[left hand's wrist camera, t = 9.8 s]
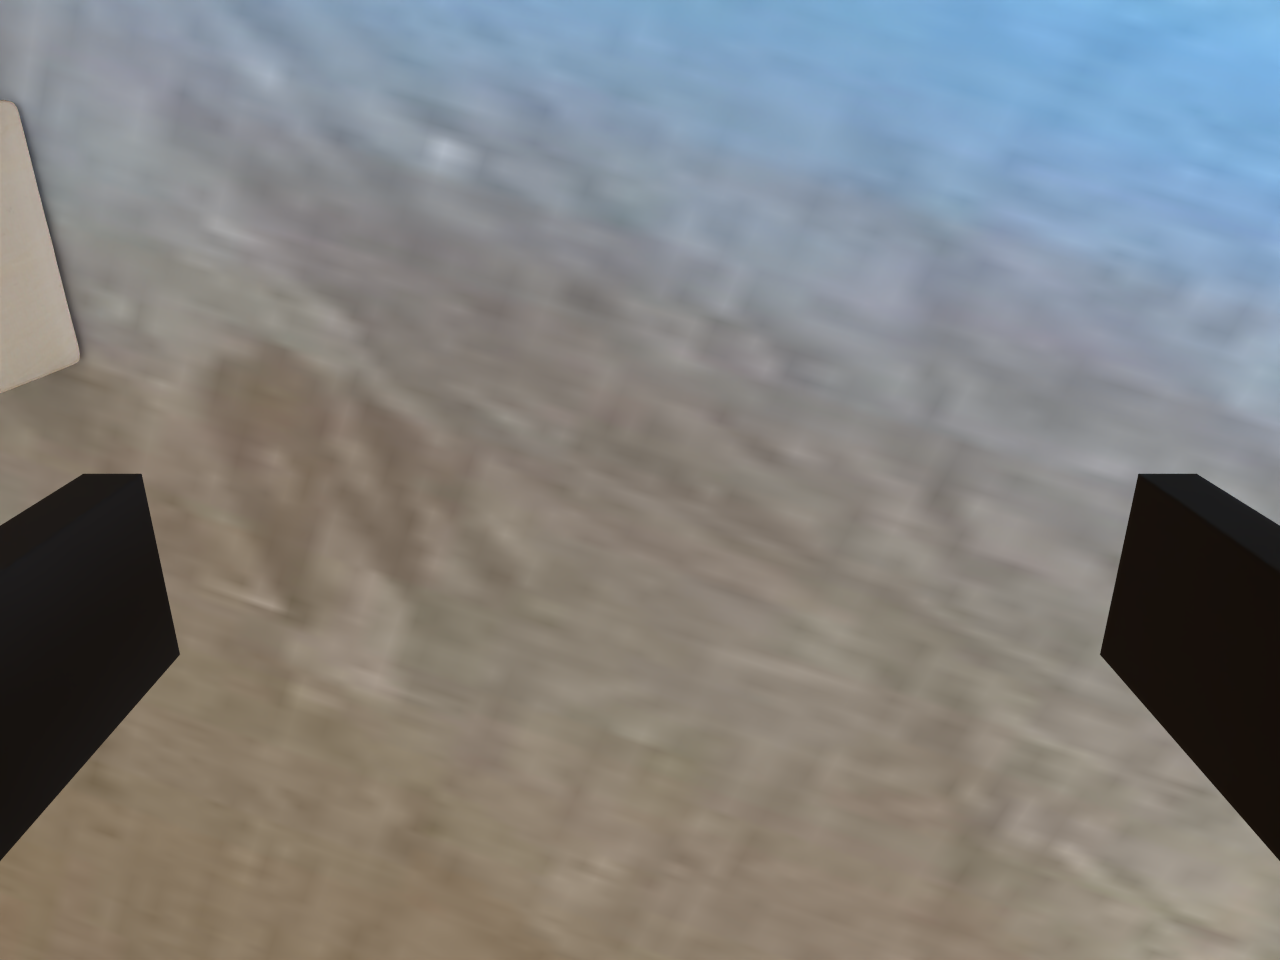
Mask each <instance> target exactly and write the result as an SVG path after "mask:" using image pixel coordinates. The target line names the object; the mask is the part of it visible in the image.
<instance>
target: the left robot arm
mask: <svg viewBox="0 0 1280 960" xmlns="http://www.w3.org/2000/svg"><path fill="white" fill-rule="evenodd" d="M179 655H180V653H179V648H178V643H177V639H176V634H175V629H174V625H173V620H172V615H171V610H170V606H169V601H168V596H167V592H166V587H165V582H164V577H163V573H162V568H161V563H160V559H159V554H158V549H157V544H156V540H155V535H154V530H153V526H152V521H151V516H150V512H149V507H148V502H147V497H146V493H145V488H144V483H143V479H142V474H82V475H81V476H79V477H78V478H76V479H74V480H73V481H71V482H70V483H68V484H66V485H65V486H63V487H62V488H60V489H58V490H57V491H55V492H54V493H52V494H50V495H49V496H47V497H46V498H44V499H42V500H41V501H39V502H38V503H36V504H34V505H33V506H31V507H30V508H28V509H26V510H25V511H23V512H22V513H20V514H18V515H17V516H15V517H14V518H12V519H10V520H9V521H7V522H6V523H4V524H2V525H1V526H0V861H1V859H2V858H3V857H4V856H5V855H6V854H7V853H8V851H9V850H10V849H11V848H12V847H13V846H14V844H15V843H16V842H17V841H18V840H19V839H20V838H21V836H22V835H23V834H24V833H25V832H26V831H27V830H28V828H29V827H30V826H31V825H32V824H33V823H34V821H35V820H36V819H37V818H38V817H39V816H40V815H41V813H42V812H43V811H44V810H45V809H46V808H47V807H48V805H49V804H50V803H51V802H52V801H53V800H54V799H55V797H56V796H57V795H58V794H59V793H60V792H61V790H62V789H63V788H64V787H65V786H66V785H67V784H68V782H69V781H70V780H71V779H72V778H73V777H74V776H75V774H76V773H77V772H78V771H79V770H80V769H81V768H82V766H83V765H84V764H85V763H86V762H87V761H88V759H89V758H90V757H91V756H92V755H93V754H94V753H95V751H96V750H97V749H98V748H99V747H100V746H101V745H102V743H103V742H104V741H105V740H106V739H107V738H108V736H109V735H110V734H111V733H112V732H113V731H114V730H115V728H116V727H117V726H118V725H119V724H120V723H121V722H122V720H123V719H124V718H125V717H126V716H127V715H128V714H129V712H130V711H131V710H132V709H133V708H134V707H135V705H136V704H137V703H138V702H139V701H140V700H141V699H142V697H143V696H144V695H145V694H146V693H147V692H148V691H149V689H150V688H151V687H152V686H153V685H154V684H155V683H156V681H157V680H158V679H159V678H160V677H161V676H162V674H163V673H164V672H165V671H166V670H167V669H168V668H169V666H170V665H171V664H172V663H173V662H174V661H175V660H176V658H177V657H178V656H179ZM1100 655H1101V656H1102V657H1103V658H1104V660H1105V661H1106V662H1107V663H1108V664H1109V665H1110V666H1111V668H1112V669H1113V670H1114V671H1115V672H1116V673H1117V674H1118V676H1119V677H1120V678H1121V679H1122V680H1123V681H1124V683H1125V684H1126V685H1127V686H1128V687H1129V688H1130V689H1131V691H1132V692H1133V693H1134V694H1135V695H1136V696H1137V697H1138V699H1139V700H1140V701H1141V702H1142V703H1143V704H1144V705H1145V707H1146V708H1147V709H1148V710H1149V711H1150V712H1151V714H1152V715H1153V716H1154V717H1155V718H1156V719H1157V720H1158V722H1159V723H1160V724H1161V725H1162V726H1163V727H1164V728H1165V730H1166V731H1167V732H1168V733H1169V734H1170V735H1171V736H1172V738H1173V739H1174V740H1175V741H1176V742H1177V743H1178V745H1179V746H1180V747H1181V748H1182V749H1183V750H1184V751H1185V753H1186V754H1187V755H1188V756H1189V757H1190V758H1191V759H1192V761H1193V762H1194V763H1195V764H1196V765H1197V766H1198V768H1199V769H1200V770H1201V771H1202V772H1203V773H1204V774H1205V776H1206V777H1207V778H1208V779H1209V780H1210V781H1211V782H1212V784H1213V785H1214V786H1215V787H1216V788H1217V789H1218V790H1219V792H1220V793H1221V794H1222V795H1223V796H1224V797H1225V799H1226V800H1227V801H1228V802H1229V803H1230V804H1231V805H1232V807H1233V808H1234V809H1235V810H1236V811H1237V812H1238V813H1239V815H1240V816H1241V817H1242V818H1243V819H1244V820H1245V821H1246V823H1247V824H1248V825H1249V826H1250V827H1251V828H1252V830H1253V831H1254V832H1255V833H1256V834H1257V835H1258V836H1259V838H1260V839H1261V840H1262V841H1263V842H1264V843H1265V844H1266V846H1267V847H1268V848H1269V849H1270V850H1271V851H1272V853H1273V854H1274V855H1275V856H1276V857H1277V858H1278V859H1279V861H1280V526H1279V525H1278V524H1276V523H1274V522H1273V521H1271V520H1270V519H1268V518H1266V517H1265V516H1263V515H1262V514H1260V513H1258V512H1257V511H1255V510H1254V509H1252V508H1250V507H1249V506H1247V505H1246V504H1244V503H1242V502H1241V501H1239V500H1238V499H1236V498H1234V497H1233V496H1231V495H1230V494H1228V493H1226V492H1225V491H1223V490H1222V489H1220V488H1218V487H1217V486H1215V485H1214V484H1212V483H1210V482H1209V481H1207V480H1206V479H1204V478H1202V477H1201V476H1199V475H1198V474H1138V479H1137V483H1136V488H1135V493H1134V497H1133V502H1132V507H1131V512H1130V516H1129V521H1128V526H1127V530H1126V535H1125V540H1124V544H1123V549H1122V554H1121V559H1120V563H1119V568H1118V573H1117V577H1116V582H1115V587H1114V592H1113V596H1112V601H1111V606H1110V610H1109V615H1108V620H1107V625H1106V629H1105V634H1104V639H1103V643H1102V648H1101V653H1100Z"/></svg>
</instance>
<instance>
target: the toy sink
mask: <svg viewBox="0 0 1280 960" xmlns="http://www.w3.org/2000/svg"><path fill="white" fill-rule="evenodd" d="M79 359H80V353H79V346H78V343H77V339H76V335H75V331H74V328H73V324H72V320H71V316H70V312H69V309H68V305H67V301H66V297H65V293H64V289H63V285H62V281H61V277H60V273H59V269H58V265H57V261H56V257H55V253H54V249H53V245H52V241H51V237H50V233H49V230H48V226H47V222H46V218H45V214H44V210H43V206H42V202H41V199H40V195H39V191H38V187H37V183H36V179H35V175H34V171H33V167H32V163H31V159H30V155H29V151H28V147H27V143H26V139H25V135H24V131H23V127H22V123H21V119H20V115H19V112H18V110H17V107H16V106H15V104H14V103H12V102H10V101H6V100H0V393H2V392H5V391H8V390H11V389H13V388H16V387H18V386H21V385H23V384H26V383H28V382H31V381H34V380H36V379H39V378H41V377H44V376H46V375H49V374H51V373H54V372H56V371H59V370H62V369H64V368H67V367H69V366H71V365H74V364H75V363H77V362H78V361H79Z"/></svg>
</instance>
